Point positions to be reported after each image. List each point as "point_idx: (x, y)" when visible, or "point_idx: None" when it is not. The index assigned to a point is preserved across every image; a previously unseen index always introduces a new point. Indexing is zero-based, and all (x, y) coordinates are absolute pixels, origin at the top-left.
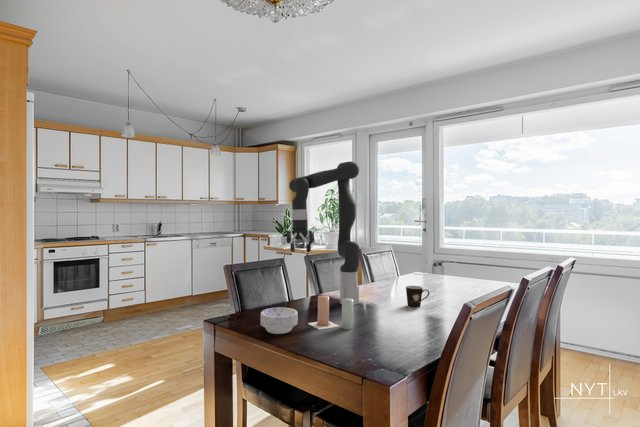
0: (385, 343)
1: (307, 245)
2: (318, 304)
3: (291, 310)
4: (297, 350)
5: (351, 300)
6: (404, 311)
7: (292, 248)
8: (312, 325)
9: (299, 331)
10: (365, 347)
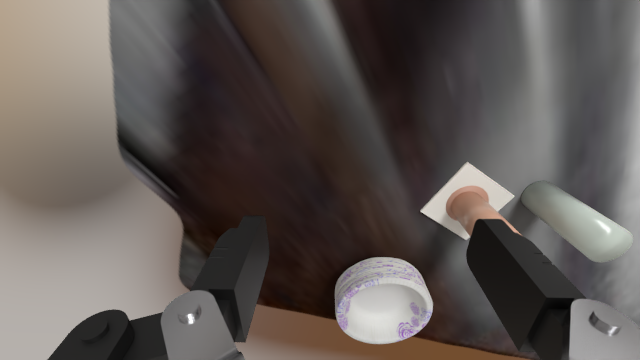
0: (634, 254)
1: (530, 339)
2: None
3: (403, 285)
4: (457, 337)
5: (624, 252)
6: None
7: (260, 287)
8: (439, 222)
9: (422, 264)
10: (585, 287)
